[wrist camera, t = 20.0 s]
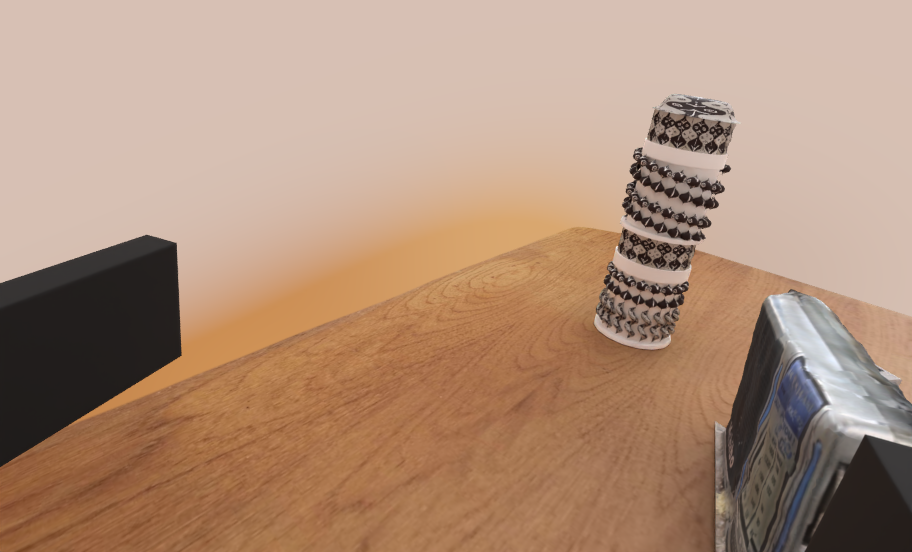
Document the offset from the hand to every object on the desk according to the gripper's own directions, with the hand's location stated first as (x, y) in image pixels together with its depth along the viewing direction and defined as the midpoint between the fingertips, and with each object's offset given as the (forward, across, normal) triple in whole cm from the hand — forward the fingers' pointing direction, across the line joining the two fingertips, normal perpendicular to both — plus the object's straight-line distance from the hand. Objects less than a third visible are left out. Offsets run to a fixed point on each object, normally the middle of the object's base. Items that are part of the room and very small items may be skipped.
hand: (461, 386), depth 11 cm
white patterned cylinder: (+52, +7, -21) cm, 56 cm away
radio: (+25, +16, -21) cm, 36 cm away
